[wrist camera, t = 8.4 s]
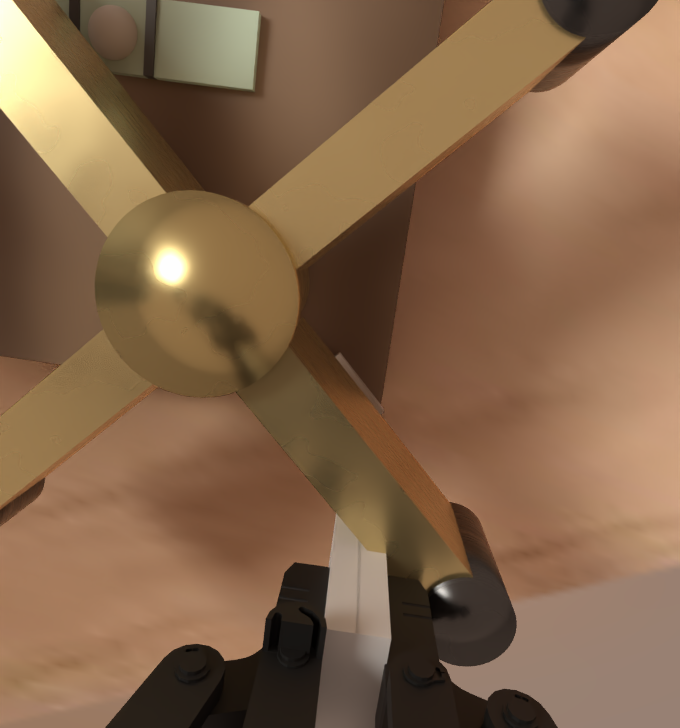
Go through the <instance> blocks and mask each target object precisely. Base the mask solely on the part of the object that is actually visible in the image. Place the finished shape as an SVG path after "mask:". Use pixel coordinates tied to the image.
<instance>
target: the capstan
mask: <svg viewBox="0 0 680 728" xmlns="http://www.w3.org/2000/svg"><path fill="white" fill-rule="evenodd" d="M657 1H658V0H492V1H491V2H490V3H489V4H487V5H486V6H485V7H484V8H483V9H481V10H480V11H479V12H478V13H477V14H476V15H474V16H473V17H472V18H471V19H470V20H468V21H467V22H466V23H465V24H464V25H462V26H461V27H460V28H459V29H458V30H457V31H455V32H454V33H453V34H452V35H451V36H449V37H448V38H447V39H446V40H445V41H444V42H442V43H441V44H440V45H439V46H438V47H436V48H435V49H434V50H433V51H432V52H431V53H429V54H428V55H427V56H426V57H425V58H423V59H422V60H421V61H420V62H419V63H418V64H416V65H415V66H414V67H413V68H412V69H410V70H409V71H408V72H407V73H406V74H405V75H403V76H402V77H401V78H400V79H399V80H397V81H396V82H395V83H394V84H393V85H392V86H390V87H389V88H388V89H387V90H386V91H384V92H383V93H382V94H381V95H380V96H378V97H377V98H376V99H375V100H374V101H373V102H371V103H370V104H369V105H368V106H367V107H365V108H364V109H363V110H362V111H361V112H360V113H358V114H357V115H356V116H355V117H354V118H352V119H351V120H350V121H349V122H348V123H347V124H345V125H344V126H343V127H342V128H341V129H339V130H338V131H337V132H336V133H335V134H334V135H332V136H331V137H330V138H329V139H328V140H326V141H325V142H324V143H323V144H322V145H321V146H319V147H318V148H317V149H316V150H315V151H313V152H312V153H311V154H310V155H309V156H308V157H306V158H305V159H304V160H303V161H302V162H300V163H299V164H298V165H297V166H296V167H295V168H293V169H292V170H291V171H290V172H289V173H287V174H286V175H285V176H284V177H283V178H281V179H280V180H279V181H278V182H277V183H276V184H274V185H273V186H272V187H271V188H270V189H268V190H267V191H266V192H265V193H264V194H263V195H261V196H260V197H259V198H258V199H257V200H255V201H254V202H253V203H252V204H251V205H250V206H248V205H246V204H244V203H242V202H240V201H237V200H234V199H231V198H228V197H225V196H222V195H219V194H215V193H210V192H205V191H204V189H203V188H202V187H201V186H200V184H199V183H198V182H197V180H196V179H195V178H194V177H193V175H192V174H191V173H190V172H189V170H188V169H187V168H186V166H185V165H184V164H183V163H182V161H181V160H180V159H179V158H178V156H177V155H176V154H175V152H174V151H173V150H172V149H171V147H170V146H169V145H168V144H167V142H166V141H165V140H164V138H163V137H162V136H161V135H160V133H159V132H158V131H157V130H156V128H155V127H154V126H153V124H152V123H151V122H150V121H149V119H148V118H147V117H146V116H145V114H144V113H143V112H142V110H141V109H140V108H139V107H138V105H137V104H136V103H135V101H134V100H133V99H132V98H131V96H130V95H129V94H128V93H127V91H126V90H125V89H124V87H123V86H122V85H121V84H120V82H119V81H118V80H117V79H116V77H115V76H114V75H113V73H112V72H111V71H110V70H109V68H108V67H107V66H106V65H105V63H104V62H103V61H102V59H101V58H100V57H99V56H98V54H97V53H96V52H95V51H94V49H93V48H92V47H91V45H90V44H89V43H88V42H87V40H86V39H85V38H84V37H83V35H82V34H81V33H80V31H79V30H78V29H77V28H76V26H75V25H74V24H73V23H72V21H71V20H70V19H69V17H68V16H67V15H66V14H65V12H64V11H63V10H62V9H61V7H60V6H59V5H58V3H57V2H56V1H55V0H0V108H1V110H2V111H3V112H4V113H5V114H6V116H7V117H8V118H9V119H10V120H11V122H12V123H13V124H14V125H15V126H16V128H17V129H18V130H19V131H20V132H21V134H22V135H23V136H24V137H25V138H26V140H27V141H28V142H29V143H30V144H31V146H32V147H33V148H34V149H35V151H36V152H37V153H38V154H39V155H40V157H41V158H42V159H43V160H44V161H45V163H46V164H47V165H48V166H49V167H50V169H51V170H52V171H53V172H54V173H55V175H56V176H57V177H58V178H59V179H60V181H61V182H62V183H63V184H64V185H65V187H66V188H67V189H68V190H69V192H70V193H71V194H72V195H73V196H74V198H75V199H76V200H77V201H78V202H79V204H80V205H81V206H82V207H83V208H84V210H85V211H86V212H87V213H88V214H89V216H90V217H91V218H92V219H93V220H94V222H95V223H96V224H97V225H98V226H99V228H100V229H101V230H102V231H103V233H104V234H105V235H106V236H107V237H108V238H107V240H106V241H105V243H104V245H103V248H102V250H101V253H100V256H99V259H98V263H97V268H96V274H95V300H96V306H97V312H98V315H99V318H100V322H101V325H102V327H103V330H102V331H100V332H99V333H98V334H97V335H96V336H95V337H93V338H92V339H91V340H90V341H89V342H87V343H86V344H85V345H84V346H83V347H82V348H80V349H79V350H78V351H77V352H76V353H74V354H73V355H72V356H71V357H70V358H69V359H67V360H66V361H65V362H64V363H63V364H61V365H60V366H59V367H58V368H57V369H56V370H54V371H53V372H52V373H51V374H50V375H48V376H47V377H46V378H45V379H44V380H43V381H41V382H40V383H39V384H38V385H37V386H35V387H34V388H33V389H32V390H31V391H30V392H28V393H27V394H26V395H25V396H24V397H22V398H21V399H20V400H19V401H18V402H17V403H15V404H14V405H13V406H12V407H11V408H9V409H8V410H7V411H6V412H5V413H3V414H2V415H1V416H0V526H2V525H3V524H4V523H5V522H7V521H8V520H9V519H11V518H12V517H13V516H15V515H16V514H17V513H19V512H20V511H21V510H22V509H24V508H25V507H26V506H28V505H29V504H30V503H32V502H33V501H34V500H35V499H36V498H37V497H38V496H39V495H40V494H41V492H42V490H43V487H44V483H45V477H46V476H47V475H48V474H50V473H51V472H52V471H53V470H55V469H56V468H57V467H58V466H60V465H61V464H62V463H63V462H65V461H66V460H67V459H68V458H70V457H71V456H72V455H73V454H75V453H76V452H77V451H79V450H80V449H81V448H82V447H84V446H85V445H86V444H87V443H89V442H90V441H91V440H92V439H94V438H95V437H96V436H97V435H99V434H100V433H101V432H102V431H104V430H105V429H106V428H107V427H109V426H110V425H111V424H112V423H114V422H115V421H116V420H117V419H119V418H120V417H121V416H122V415H124V414H125V413H126V412H127V411H129V410H130V409H131V408H133V407H134V406H135V405H136V404H138V403H139V402H140V401H141V400H143V399H144V398H145V397H146V396H148V395H149V394H150V393H151V392H153V391H154V390H155V389H156V388H158V387H159V388H161V389H164V390H166V391H169V392H172V393H175V394H179V395H184V396H189V397H201V398H203V397H217V396H222V395H227V394H230V393H233V392H236V393H237V394H238V395H239V397H240V398H241V399H242V400H243V401H244V403H245V404H246V405H247V406H248V407H249V409H250V410H251V411H252V412H253V413H254V415H255V416H256V417H257V418H258V419H259V421H260V422H261V423H262V424H263V426H264V427H265V428H266V429H267V430H268V432H269V433H270V434H271V435H272V436H273V438H274V439H275V440H276V441H277V442H278V444H279V445H280V446H281V447H282V448H283V450H284V451H285V452H286V453H287V454H288V456H289V457H290V458H291V459H292V460H293V462H294V463H295V464H296V465H297V467H298V468H299V469H300V470H301V471H302V473H303V474H304V475H305V476H306V477H307V479H308V480H309V481H310V482H311V483H312V485H313V486H314V487H315V488H316V489H317V491H318V492H319V493H320V494H321V495H322V497H323V498H324V499H325V500H326V501H327V503H328V504H329V505H330V506H331V508H332V509H333V510H334V511H335V512H336V514H337V515H338V516H339V517H340V518H341V520H342V521H343V522H344V523H345V524H346V526H347V527H348V528H349V529H350V530H351V532H352V533H353V534H354V535H355V536H356V538H357V539H358V540H359V541H360V543H361V544H362V545H363V546H364V547H365V549H366V550H367V551H372V552H379V553H385V554H386V560H387V575H390V576H396V577H403V578H409V579H416V580H419V581H420V583H421V584H422V585H423V587H424V588H425V590H426V591H427V592H428V598H429V604H430V610H431V616H432V622H433V627H434V633H435V639H436V645H437V651H438V657H439V659H440V660H442V661H444V662H447V663H450V664H452V665H457V666H477V665H481V664H485V663H487V662H490V661H492V660H494V659H495V658H497V657H499V656H500V655H501V654H502V653H503V652H505V650H506V649H507V648H508V647H509V646H510V644H511V642H512V641H513V638H514V636H515V633H516V615H515V613H514V609H513V607H512V604H511V601H510V599H509V596H508V594H507V591H506V588H505V586H504V583H503V581H502V578H501V575H500V573H499V570H498V568H497V565H496V562H495V560H494V557H493V555H492V552H491V549H490V547H489V544H488V541H487V539H486V536H485V534H484V531H483V528H482V526H481V523H480V521H479V520H478V518H477V517H476V515H475V514H474V513H473V512H472V511H470V510H469V509H468V508H466V507H464V506H462V505H459V504H456V503H451V502H449V501H448V500H447V499H446V497H445V496H444V495H443V494H442V492H441V491H440V490H439V489H438V487H437V486H436V485H435V483H434V482H433V481H432V480H431V478H430V477H429V476H428V475H427V473H426V472H425V471H424V469H423V468H422V467H421V466H420V464H419V463H418V462H417V461H416V459H415V458H414V457H413V455H412V454H411V453H410V452H409V450H408V449H407V448H406V447H405V445H404V444H403V443H402V441H401V440H400V439H399V438H398V436H397V435H396V434H395V433H394V431H393V430H392V429H391V427H390V426H389V425H388V424H387V422H386V421H385V420H384V419H383V417H382V416H381V415H380V413H379V412H378V411H377V410H376V408H375V407H374V406H373V405H372V403H371V402H370V401H369V399H368V398H367V397H366V396H365V394H364V393H363V392H362V391H361V389H360V388H359V387H358V385H357V384H356V383H355V382H354V380H353V379H352V378H351V377H350V375H349V374H348V373H347V371H346V370H345V369H344V368H343V366H342V365H341V364H340V362H339V361H338V360H337V359H336V357H335V356H334V355H333V354H332V352H331V351H330V350H329V348H328V347H327V346H326V345H325V343H324V342H323V341H322V340H321V338H320V337H319V336H318V334H317V333H316V332H315V331H314V329H313V328H312V327H311V326H310V324H309V323H308V322H307V320H306V319H305V318H304V317H302V318H301V319H300V316H301V311H302V310H303V308H304V306H305V303H306V300H307V297H308V293H309V284H310V279H309V270H308V267H310V266H311V265H312V264H313V263H315V262H316V261H317V260H318V259H320V258H321V257H322V256H323V255H325V254H326V253H327V252H328V251H330V250H331V249H332V248H333V247H335V246H336V245H337V244H338V243H340V242H341V241H342V240H343V239H345V238H346V237H347V236H349V235H350V234H351V233H352V232H354V231H355V230H356V229H357V228H359V227H360V226H361V225H362V224H364V223H365V222H366V221H367V220H369V219H370V218H371V217H372V216H374V215H375V214H376V213H377V212H379V211H380V210H381V209H382V208H384V207H385V206H386V205H387V204H389V203H390V202H391V201H392V200H394V199H395V198H396V197H397V196H399V195H400V194H401V193H403V192H404V191H405V190H406V189H408V188H409V187H410V186H411V185H413V184H414V183H415V182H416V181H418V180H419V179H420V178H421V177H423V176H424V175H425V174H426V173H428V172H429V171H430V170H431V169H433V168H434V167H435V166H436V165H438V164H439V163H440V162H441V161H443V160H444V159H445V158H446V157H448V156H449V155H450V154H451V153H453V152H454V151H455V150H457V149H458V148H459V147H460V146H462V145H463V144H464V143H465V142H467V141H468V140H469V139H470V138H472V137H473V136H474V135H475V134H477V133H478V132H479V131H480V130H482V129H483V128H484V127H485V126H487V125H488V124H489V123H490V122H492V121H493V120H494V119H495V118H497V117H498V116H499V115H500V114H502V113H503V112H504V111H505V110H507V109H508V108H509V107H511V106H512V105H513V104H514V103H516V102H517V101H518V100H519V99H521V98H522V97H523V96H524V95H526V94H527V93H528V92H544V91H548V90H551V89H553V88H556V87H557V86H559V85H561V84H562V83H564V82H565V81H566V80H568V79H569V78H570V77H571V76H573V75H574V74H575V73H576V72H577V71H579V70H580V69H581V68H582V67H583V66H585V65H586V64H587V63H588V62H589V61H591V60H592V59H593V58H594V57H595V56H597V55H598V54H599V53H600V52H601V51H603V50H604V49H605V48H606V47H608V46H609V45H610V44H611V43H612V42H614V41H615V40H616V39H617V38H618V37H620V36H621V35H622V34H623V33H624V32H626V31H627V30H628V29H629V28H630V27H632V26H633V25H634V24H635V23H636V22H638V21H639V20H640V19H641V18H642V17H644V16H645V15H646V14H647V13H648V12H649V11H650V10H651V9H652V8H653V6H654V5H655V4H656V3H657Z"/></svg>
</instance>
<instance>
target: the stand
mask: <svg viewBox="0 0 680 728" xmlns="http://www.w3.org/2000/svg"><path fill="white" fill-rule="evenodd" d="M55 1H56V2H57V3H58V5H59V6H60V7H61V9H62V10H63V11H64V12H65V14H66V15H67V16H68V17H69V19H70V20H71V21H72V23H73V24H74V25H75V26H76V28H77V29H78V30H79V31H80V33H81V34H82V35H83V37H84V38H85V39H86V40H87V42H88V43H89V44H90V45H91V47H92V48H93V49H94V51H95V52H96V53H97V54H98V56H99V57H100V58H101V59H102V61H103V62H104V63H105V65H106V66H107V67H108V68H109V70H110V71H111V72H112V73H113V75H114V76H115V77H116V79H117V80H118V81H119V82H120V84H121V85H122V86H123V87H124V89H125V90H126V91H127V93H128V94H129V95H130V96H131V98H132V99H133V100H134V101H135V103H136V104H137V105H138V107H139V108H140V109H141V110H142V112H143V113H144V114H145V116H146V117H147V118H148V119H149V121H150V122H151V123H152V124H153V126H154V127H155V128H156V130H157V131H158V132H159V133H160V135H161V136H162V137H163V138H164V140H165V141H166V142H167V144H168V145H169V146H170V147H171V149H172V150H173V151H174V152H175V154H176V155H177V156H178V158H179V159H180V160H181V161H182V163H183V164H184V165H185V166H186V168H187V169H188V170H189V172H190V173H191V174H192V175H193V177H194V178H195V179H196V180H197V182H198V183H199V184H200V186H201V187H202V188H203V189H204V191H205V192H210V193H215V194H219V195H222V196H225V197H228V198H231V199H234V200H237V201H240V202H242V203H244V204H246V205H248V206H250V205H251V204H252V203H253V202H254V201H255V200H257V199H258V198H259V197H260V196H261V195H263V194H264V193H265V192H266V191H267V190H268V189H270V188H271V187H272V186H273V185H274V184H276V183H277V182H278V181H279V180H280V179H281V178H283V177H284V176H285V175H286V174H287V173H289V172H290V171H291V170H292V169H293V168H295V167H296V166H297V165H298V164H299V163H300V162H302V161H303V160H304V159H305V158H306V157H308V156H309V155H310V154H311V153H312V152H313V151H315V150H316V149H317V148H318V147H319V146H321V145H322V144H323V143H324V142H325V141H326V140H328V139H329V138H330V137H331V136H332V135H334V134H335V133H336V132H337V131H338V130H339V129H341V128H342V127H343V126H344V125H345V124H347V123H348V122H349V121H350V120H351V119H352V118H354V117H355V116H356V115H357V114H358V113H360V112H361V111H362V110H363V109H364V108H365V107H367V106H368V105H369V104H370V103H371V102H373V101H374V100H375V99H376V98H377V97H378V96H380V95H381V94H382V93H383V92H384V91H386V90H387V89H388V88H389V87H390V86H392V85H393V84H394V83H395V82H396V81H397V80H399V79H400V78H401V77H402V76H403V75H405V74H406V73H407V72H408V71H409V70H410V69H412V68H413V67H414V66H415V65H416V64H418V63H419V62H420V61H421V60H422V59H423V58H425V57H426V56H427V55H428V54H429V53H431V52H432V51H433V50H434V49H435V48H436V47H437V43H438V37H439V30H440V24H441V17H442V11H443V5H444V0H55ZM415 183H416V182H415ZM415 183H414V184H413V185H411V186H410V187H409V188H408V189H406V190H405V191H404V192H403V193H401V194H400V195H399V196H397V197H396V198H395V199H394V200H392V201H391V202H390V203H389V204H387V205H386V206H385V207H384V208H382V209H381V210H380V211H379V212H377V213H376V214H375V215H374V216H372V217H371V218H370V219H369V220H367V221H366V222H365V223H364V224H362V225H361V226H360V227H359V228H357V229H356V230H355V231H354V232H352V233H351V234H350V235H349V236H347V237H346V238H345V239H343V240H342V241H341V242H340V243H338V244H337V245H336V246H335V247H333V248H332V249H331V250H330V251H328V252H327V253H326V254H325V255H323V256H322V257H321V258H320V259H318V260H317V261H316V262H315V263H313V264H312V265H311V266H310V267H308V270H309V279H310V284H309V293H308V297H307V300H306V303H305V306H304V308H303V310H302V311H301V316H300V319H301V318H302V317H304V318H305V319H306V320H307V322H308V323H309V324H310V326H311V327H312V328H313V329H314V331H315V332H316V333H317V334H318V336H319V337H320V338H321V340H322V341H323V342H324V343H325V345H326V346H327V347H328V348H329V350H330V351H331V352H332V354H333V355H334V356H335V357H336V359H337V360H338V361H339V362H340V364H341V365H342V366H343V368H344V369H345V370H346V371H347V373H348V374H349V375H350V377H351V378H352V379H353V380H354V382H355V383H356V384H357V385H358V387H359V388H360V389H361V391H362V392H363V393H364V394H365V396H366V397H367V398H368V399H369V401H370V402H371V403H372V405H373V406H374V407H375V408H376V410H377V411H378V412H379V413H380V415H381V414H382V413H384V408H383V407H382V406H381V400H382V394H383V388H384V381H385V375H386V368H387V362H388V356H389V349H390V343H391V336H392V330H393V324H394V317H395V311H396V305H397V298H398V292H399V285H400V279H401V273H402V266H403V260H404V254H405V247H406V241H407V234H408V228H409V222H410V215H411V209H412V202H413V196H414V190H415ZM107 238H108V237H107V236H106V235H105V234H104V233H103V231H102V230H101V229H100V228H99V226H98V225H97V224H96V223H95V222H94V220H93V219H92V218H91V217H90V216H89V214H88V213H87V212H86V211H85V210H84V208H83V207H82V206H81V205H80V204H79V202H78V201H77V200H76V199H75V198H74V196H73V195H72V194H71V193H70V192H69V190H68V189H67V188H66V187H65V185H64V184H63V183H62V182H61V181H60V179H59V178H58V177H57V176H56V175H55V173H54V172H53V171H52V170H51V169H50V167H49V166H48V165H47V164H46V163H45V161H44V160H43V159H42V158H41V157H40V155H39V154H38V153H37V152H36V151H35V149H34V148H33V147H32V146H31V144H30V143H29V142H28V141H27V140H26V138H25V137H24V136H23V135H22V134H21V132H20V131H19V130H18V129H17V128H16V126H15V125H14V124H13V123H12V122H11V120H10V119H9V118H8V117H7V116H6V114H5V113H4V112H3V111H2V110H1V108H0V356H4V357H11V358H18V359H25V360H32V361H39V362H46V363H53V364H60V365H61V364H63V363H64V362H65V361H66V360H67V359H69V358H70V357H71V356H72V355H73V354H74V353H76V352H77V351H78V350H79V349H80V348H82V347H83V346H84V345H85V344H86V343H87V342H89V341H90V340H91V339H92V338H93V337H95V336H96V335H97V334H98V333H99V332H100V331H102V330H103V327H102V325H101V322H100V318H99V315H98V312H97V306H96V300H95V274H96V268H97V263H98V259H99V256H100V253H101V250H102V248H103V245H104V243H105V241H106V240H107Z"/></svg>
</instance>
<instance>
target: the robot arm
mask: <svg viewBox="0 0 680 728" xmlns="http://www.w3.org/2000/svg"><path fill="white" fill-rule="evenodd" d="M106 728H558V727H557V726H556V724H555V723H554V721H553V720H552V718H551V717H550V715H549V714H548V712H547V711H546V710H545V709H544V708H543V707H542V705H541V704H540V703H539V702H537V701H536V700H534V699H533V698H532V697H530V696H529V695H527V694H524V693H521V692H519V691H517V690H510V689H502V690H498V691H495V692H494V693H493V694H492V695H491V696H490V697H489V698H488V701H487V700H484V699H482V698H479V697H477V696H475V695H473V694H470V693H468V692H466V691H464V690H462V689H461V688H459V687H458V686H457V685H455V684H454V683H453V682H452V681H451V679H450V676H449V674H448V672H447V669H446V668H445V667H444V666H443V665H442V664H441V663H440V662H439V657H438V651H437V645H436V639H435V633H434V627H433V622H432V616H431V610H430V604H429V598H428V592H427V591H426V590H425V588H424V587H423V585H422V584H421V583H420V581H419V580H416V579H409V578H403V577H396V576H390V575H387V560H386V554H385V553H379V552H372V551H367V550H366V549H365V547H364V546H363V545H362V544H361V543H360V541H359V540H358V539H357V538H356V536H355V535H354V534H353V533H352V532H351V530H350V529H349V528H348V527H347V526H346V524H345V523H344V522H343V521H342V520H341V518H340V517H339V516H338V515H337V514H336V518H335V525H334V532H333V539H332V546H331V553H330V560H329V567H323V566H316V565H309V564H302V563H296V562H295V563H294V564H293V565H292V566H291V567H290V568H289V569H288V570H287V571H286V572H285V573H284V578H283V582H282V586H281V590H280V594H279V598H278V602H277V606H276V607H275V608H274V609H272V610H271V611H270V612H269V614H268V616H267V617H266V623H265V632H264V640H263V647H262V649H261V650H259V651H258V652H256V653H255V654H253V655H251V656H249V657H246V658H242V659H238V660H230V661H224V659H223V657H222V656H221V655H220V653H219V652H218V651H217V650H215V649H213V648H211V647H210V646H206V645H200V644H192V645H185V646H182V647H180V648H177V649H175V650H173V651H172V652H171V653H169V654H168V655H167V656H166V657H165V658H164V659H163V660H162V661H161V662H160V663H159V665H158V666H157V667H156V668H155V669H154V671H153V672H152V673H151V674H150V675H149V676H148V678H147V679H146V680H145V681H144V682H143V684H142V685H141V686H140V687H139V688H138V690H137V691H136V692H135V693H134V694H133V695H132V697H131V698H130V699H129V700H128V701H127V703H126V704H125V705H124V706H123V707H122V708H121V710H120V711H119V712H118V713H117V714H116V716H115V717H114V718H113V719H112V720H111V721H110V723H109V724H108V725H107V726H106Z"/></svg>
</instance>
